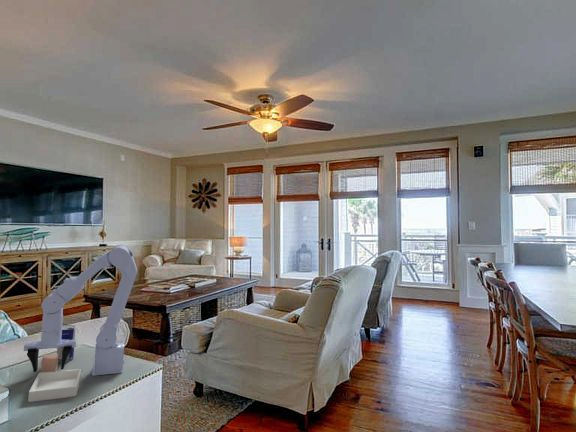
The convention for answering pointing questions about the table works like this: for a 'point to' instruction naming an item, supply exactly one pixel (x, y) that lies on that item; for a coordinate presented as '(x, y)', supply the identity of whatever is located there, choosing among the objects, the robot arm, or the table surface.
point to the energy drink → (67, 334)
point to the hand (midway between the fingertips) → (49, 369)
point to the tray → (55, 385)
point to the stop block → (49, 363)
